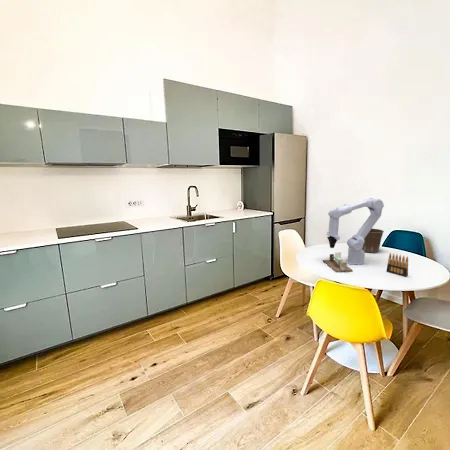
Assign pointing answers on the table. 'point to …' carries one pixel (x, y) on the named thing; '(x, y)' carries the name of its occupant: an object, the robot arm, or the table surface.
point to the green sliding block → (338, 257)
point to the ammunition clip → (397, 265)
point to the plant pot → (372, 241)
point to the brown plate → (337, 265)
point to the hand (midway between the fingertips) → (332, 247)
